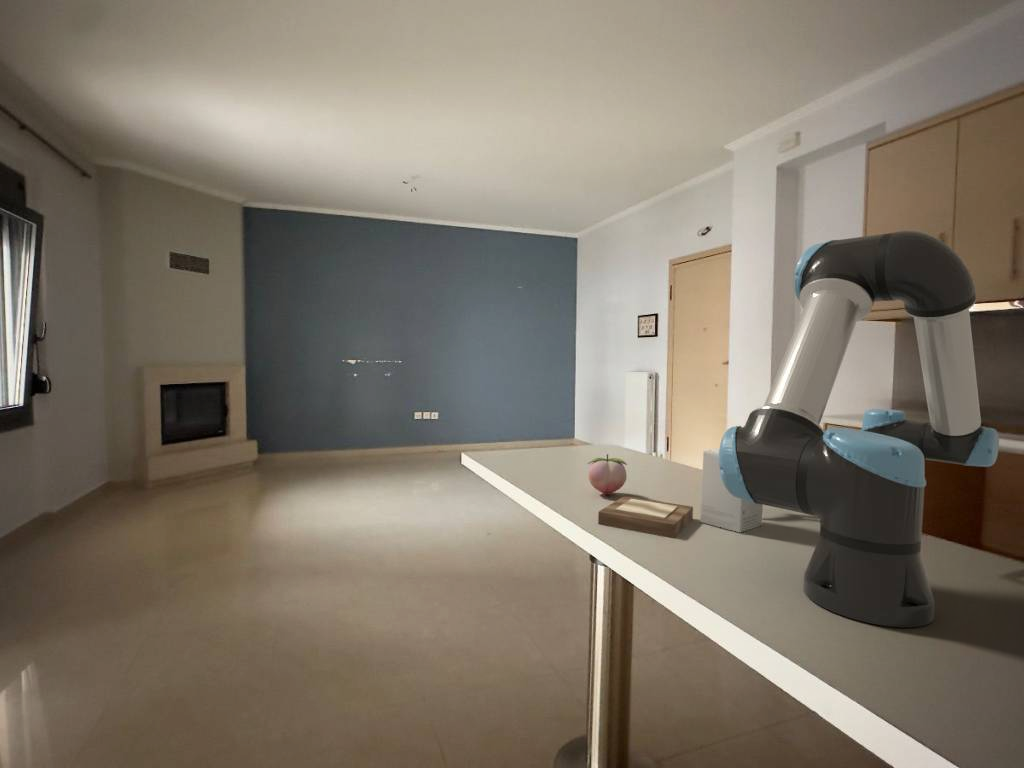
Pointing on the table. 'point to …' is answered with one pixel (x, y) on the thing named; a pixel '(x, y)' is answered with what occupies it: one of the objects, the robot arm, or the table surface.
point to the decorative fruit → (607, 474)
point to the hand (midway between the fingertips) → (745, 485)
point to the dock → (646, 516)
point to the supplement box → (724, 500)
